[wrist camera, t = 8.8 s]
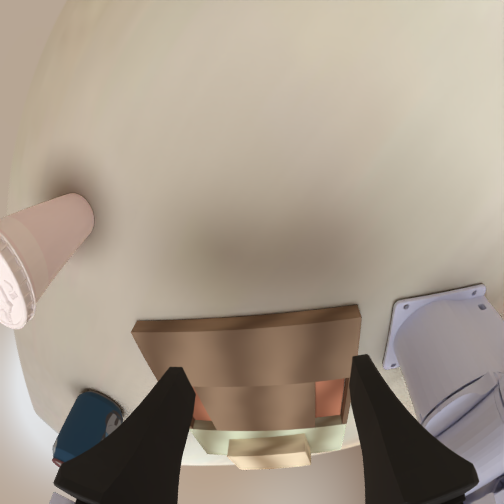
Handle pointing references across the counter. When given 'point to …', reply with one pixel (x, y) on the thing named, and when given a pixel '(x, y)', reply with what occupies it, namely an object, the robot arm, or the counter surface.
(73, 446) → the soda can
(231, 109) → the counter surface
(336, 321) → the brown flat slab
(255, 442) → the block
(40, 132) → the counter surface
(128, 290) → the counter surface
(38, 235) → the smoothie
